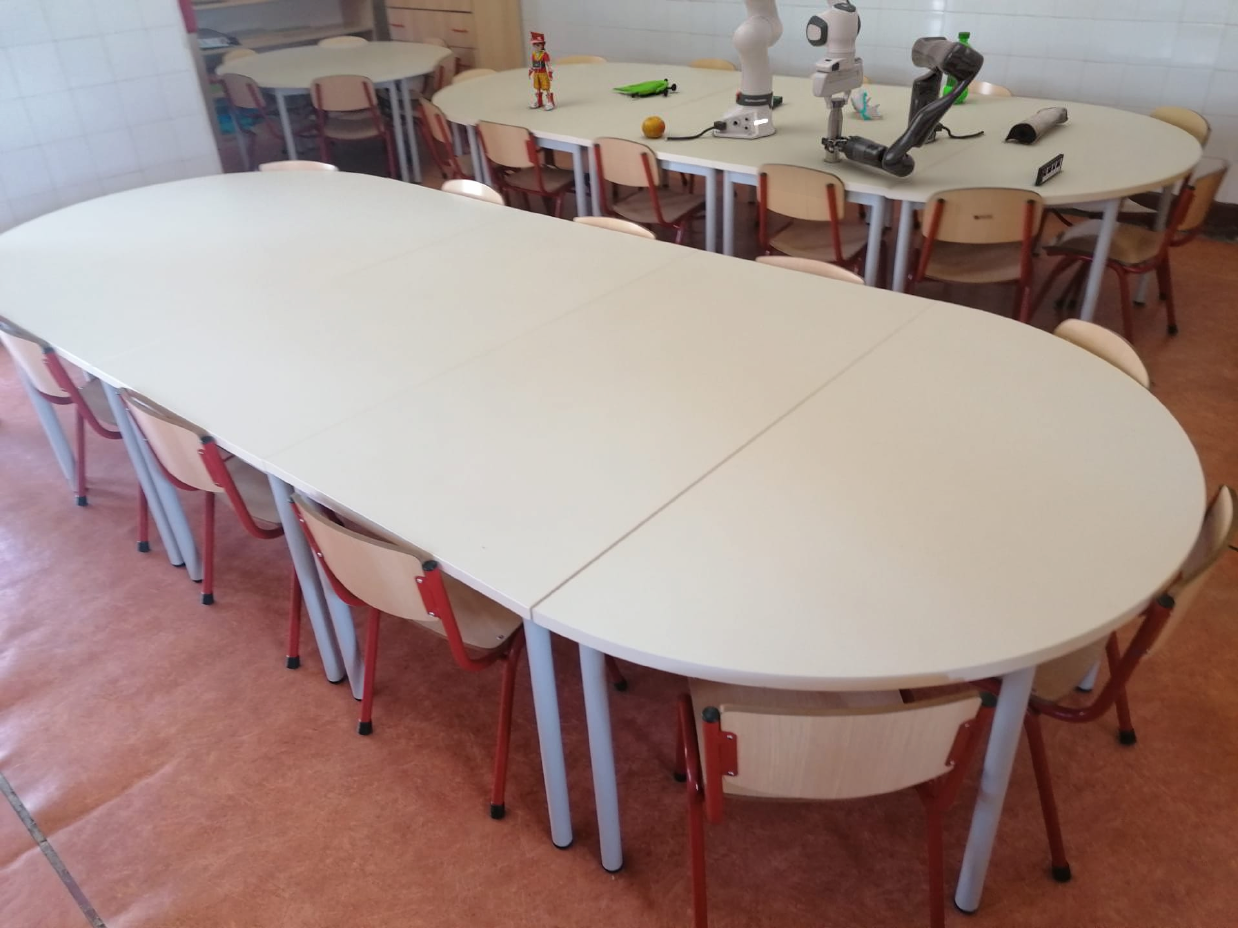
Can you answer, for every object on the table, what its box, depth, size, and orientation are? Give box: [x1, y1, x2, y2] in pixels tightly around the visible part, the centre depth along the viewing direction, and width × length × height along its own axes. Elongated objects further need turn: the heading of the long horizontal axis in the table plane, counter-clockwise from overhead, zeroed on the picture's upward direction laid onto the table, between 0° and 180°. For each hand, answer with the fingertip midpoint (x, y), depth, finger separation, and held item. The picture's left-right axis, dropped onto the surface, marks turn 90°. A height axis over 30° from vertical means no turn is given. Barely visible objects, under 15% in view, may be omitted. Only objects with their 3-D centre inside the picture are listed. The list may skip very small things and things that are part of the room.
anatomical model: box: [849, 88, 885, 120], centre depth 343 cm, size 15×10×10 cm
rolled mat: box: [1004, 106, 1069, 145], centre depth 312 cm, size 30×9×10 cm
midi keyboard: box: [1035, 153, 1065, 186], centre depth 273 cm, size 18×1×5 cm, turn 138°
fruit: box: [641, 115, 666, 138], centre depth 334 cm, size 8×8×8 cm
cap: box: [830, 96, 845, 108], centre depth 291 cm, size 4×4×2 cm
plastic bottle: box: [942, 31, 973, 104], centre depth 348 cm, size 10×10×25 cm
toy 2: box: [612, 78, 677, 99], centre depth 396 cm, size 28×5×30 cm
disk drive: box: [772, 95, 784, 109], centre depth 364 cm, size 10×3×15 cm
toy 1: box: [527, 31, 556, 111], centre depth 374 cm, size 12×9×30 cm
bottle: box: [824, 107, 844, 163], centre depth 296 cm, size 5×5×19 cm
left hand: (836, 107), depth 291 cm, fingers open, 6 cm apart
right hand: (828, 139), depth 299 cm, fingers closed on bottle, 4 cm apart
